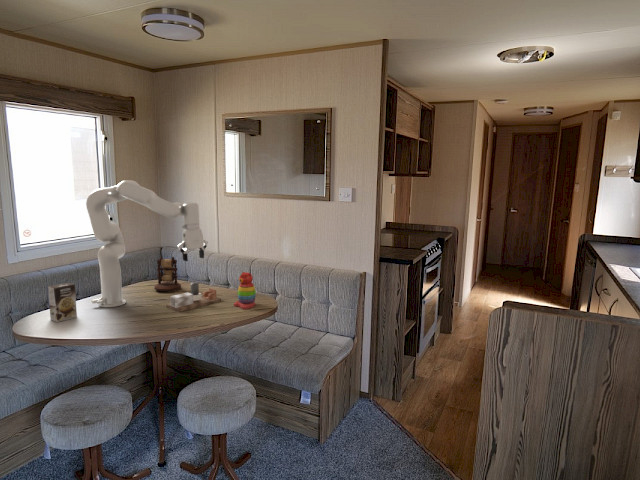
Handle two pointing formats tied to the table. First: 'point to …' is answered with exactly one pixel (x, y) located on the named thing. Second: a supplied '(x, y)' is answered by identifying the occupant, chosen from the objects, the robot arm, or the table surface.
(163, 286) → the wooden spool holder
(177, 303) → the wooden board
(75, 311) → the coffee box
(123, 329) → the table surface
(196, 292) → the white block with knob
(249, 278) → the stacking bear
